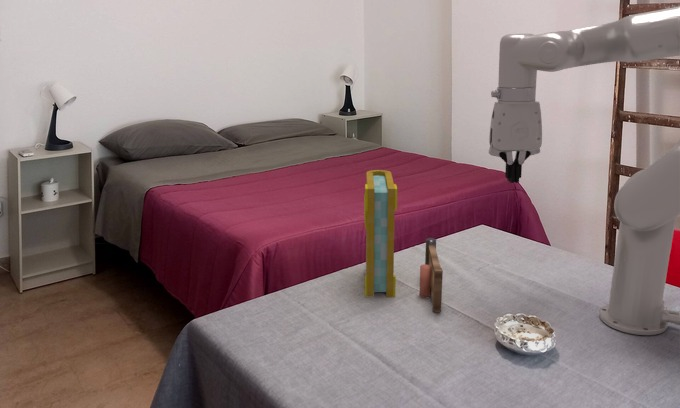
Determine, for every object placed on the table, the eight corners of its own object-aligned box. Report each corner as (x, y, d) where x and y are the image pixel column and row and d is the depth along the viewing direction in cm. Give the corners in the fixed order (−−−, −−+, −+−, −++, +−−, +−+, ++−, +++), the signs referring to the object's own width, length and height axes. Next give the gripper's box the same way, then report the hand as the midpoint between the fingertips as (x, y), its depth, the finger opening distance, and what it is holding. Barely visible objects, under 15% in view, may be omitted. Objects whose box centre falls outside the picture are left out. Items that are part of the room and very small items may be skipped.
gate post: (436, 278, 147) (437, 239, 144) (432, 282, 145) (433, 242, 142) (427, 276, 148) (428, 237, 145) (422, 280, 146) (424, 240, 143)
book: (395, 296, 137) (397, 188, 130) (365, 296, 138) (365, 188, 130) (390, 267, 154) (392, 169, 146) (363, 267, 154) (364, 169, 146)
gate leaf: (441, 311, 129) (442, 271, 127) (433, 311, 129) (434, 271, 127) (433, 280, 145) (435, 243, 142) (426, 280, 145) (428, 243, 142)
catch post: (431, 294, 138) (432, 265, 136) (427, 298, 136) (428, 269, 134) (421, 292, 139) (422, 263, 137) (417, 296, 137) (418, 267, 135)
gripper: (485, 98, 124) (483, 187, 129) (559, 95, 124) (553, 184, 129) (476, 95, 131) (474, 179, 136) (545, 92, 131) (541, 176, 136)
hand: (513, 181), depth 133 cm, fingers closed
